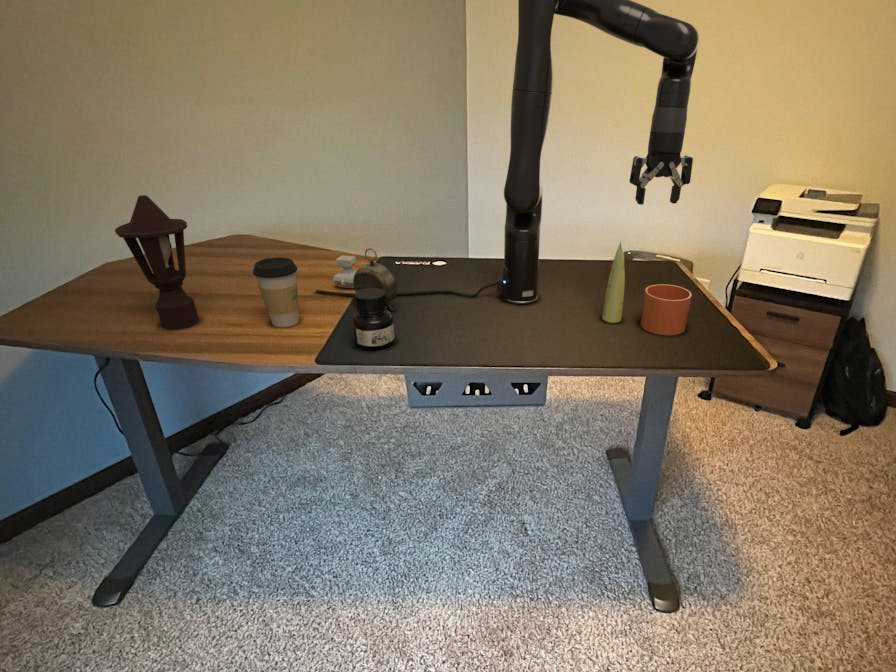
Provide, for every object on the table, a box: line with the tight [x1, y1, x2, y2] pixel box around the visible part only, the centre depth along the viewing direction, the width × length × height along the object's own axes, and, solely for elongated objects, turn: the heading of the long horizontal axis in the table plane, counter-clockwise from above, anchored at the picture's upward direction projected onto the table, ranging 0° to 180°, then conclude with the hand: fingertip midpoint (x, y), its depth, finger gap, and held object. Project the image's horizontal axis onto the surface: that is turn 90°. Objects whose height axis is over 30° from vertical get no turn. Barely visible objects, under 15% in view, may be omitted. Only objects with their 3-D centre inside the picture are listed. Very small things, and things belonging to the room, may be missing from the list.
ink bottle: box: [352, 288, 395, 351], centre depth 128 cm, size 10×9×12 cm
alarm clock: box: [353, 247, 398, 312], centre depth 143 cm, size 11×5×16 cm, turn 65°
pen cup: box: [639, 283, 693, 336], centre depth 140 cm, size 11×11×9 cm
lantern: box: [114, 194, 200, 330], centre depth 131 cm, size 15×15×30 cm
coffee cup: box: [252, 256, 300, 328], centre depth 136 cm, size 10×10×15 cm
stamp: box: [332, 254, 358, 289], centre depth 160 cm, size 9×7×8 cm
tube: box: [601, 240, 626, 324], centre depth 140 cm, size 6×5×20 cm
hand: (656, 203), depth 134 cm, fingers open, 8 cm apart
